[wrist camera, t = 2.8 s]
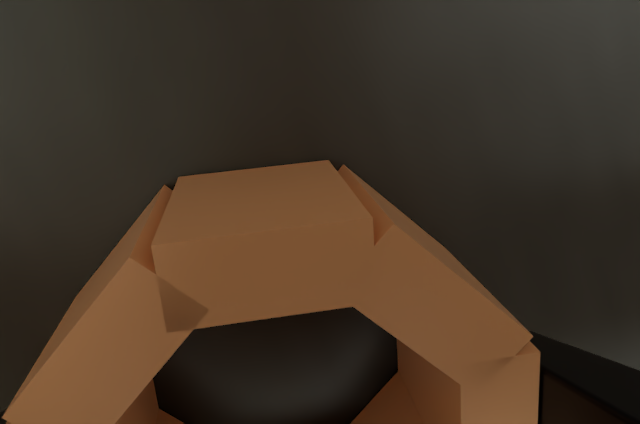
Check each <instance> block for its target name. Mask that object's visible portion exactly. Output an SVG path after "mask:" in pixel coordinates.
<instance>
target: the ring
mask: <svg viewBox="0 0 640 424" xmlns="http://www.w3.org/2000/svg"><path fill="white" fill-rule="evenodd" d="M347 307H354V308H355V309H357V310H358V311H360V312H361V313H362V314H364V315H365V316H366V317H368V318H369V319H371V320H372V321H373V322H375V323H376V324H377V325H379V326H380V327H382V328H383V329H384V330H386V331H387V332H388V333H390V334H391V335H393V336H394V337H395V338H397V356H398V372H397V373H396V374H395V375H394V376H393V377H392V378H391V380H390V381H389V382H388V383H387V384H386V385H385V386H384V387H383V388H382V389H381V390H380V392H379V393H378V394H377V395H376V396H375V397H374V398H373V399H372V400H371V401H370V402H369V404H368V405H367V406H366V407H365V408H364V409H363V410H362V411H361V412H360V413H359V414H358V416H357V417H356V418H355V419H354V420H353V421H352V422H351V423H350V424H538V401H539V376H540V351H539V350H538V349H537V348H536V347H535V346H534V345H533V344H532V343H531V342H530V340H531V338H532V337H533V335H532V334H531V333H530V332H529V331H528V330H527V329H526V328H525V327H524V326H523V325H522V324H521V323H520V322H519V321H518V320H517V319H516V318H515V317H514V316H513V315H512V314H511V313H510V312H509V311H508V310H507V309H506V308H505V307H504V306H503V305H502V304H501V303H500V302H499V301H498V300H497V299H496V298H495V297H494V296H493V295H492V294H491V293H490V292H489V291H488V290H487V289H486V288H485V287H484V286H483V285H482V284H481V283H480V282H479V281H478V280H477V279H476V278H475V277H474V276H473V275H472V274H471V273H470V272H469V271H468V270H467V269H466V268H465V267H464V266H463V265H462V264H461V263H460V262H459V261H458V260H457V259H456V258H455V257H454V256H453V255H452V254H451V253H450V252H449V251H448V250H447V249H446V248H445V247H444V246H442V245H441V244H440V243H439V242H438V241H436V240H435V239H434V238H433V237H431V236H430V235H429V234H428V233H427V232H425V231H424V230H423V229H422V228H420V227H419V226H418V225H417V224H416V223H414V222H413V221H412V220H411V219H410V218H408V217H407V216H406V215H405V214H403V213H402V212H401V211H400V210H399V209H397V208H396V207H395V206H394V205H392V204H391V203H390V202H389V201H388V200H386V199H385V198H384V197H383V196H382V195H380V194H379V193H378V192H377V191H375V190H374V189H373V188H372V187H371V186H369V185H368V184H367V183H366V182H364V181H363V180H362V179H361V178H360V177H358V176H357V175H356V174H355V173H353V172H352V171H351V170H350V169H349V168H347V167H346V166H345V165H344V164H343V165H342V166H341V168H340V169H339V170H338V171H337V170H336V169H335V168H334V166H333V165H332V164H331V162H330V161H329V160H323V161H314V162H305V163H296V164H287V165H279V166H270V167H261V168H252V169H243V170H234V171H225V172H216V173H207V174H198V175H190V176H181V177H178V179H177V182H176V184H175V187H174V189H173V190H171V189H170V188H168V187H167V186H166V185H164V186H163V187H162V188H161V189H160V191H159V192H158V193H157V194H156V196H155V197H154V198H153V199H152V201H151V202H150V203H149V205H148V206H147V207H146V208H145V210H144V211H143V212H142V213H141V215H140V216H139V217H138V218H137V220H136V221H135V222H134V224H133V225H132V226H131V227H130V229H129V230H128V231H127V232H126V234H125V235H124V236H123V237H122V239H121V240H120V241H119V243H118V244H117V245H116V246H115V248H114V249H113V250H112V251H111V253H110V254H109V255H108V256H107V258H106V259H105V260H104V262H103V263H102V264H101V265H100V267H99V268H98V269H97V270H96V272H95V273H94V274H93V276H92V277H91V278H90V279H89V281H88V282H87V283H86V284H85V286H84V287H83V288H82V289H81V291H80V292H79V293H78V295H77V296H76V297H75V299H74V300H73V302H72V304H71V305H70V307H69V309H68V310H67V312H66V313H65V315H64V317H63V318H62V320H61V322H60V323H59V325H58V327H57V328H56V330H55V331H54V333H53V335H52V336H51V338H50V340H49V341H48V343H47V344H46V346H45V348H44V349H43V351H42V353H41V354H40V356H39V358H38V359H37V361H36V362H35V364H34V366H33V367H32V369H31V371H30V372H29V374H28V375H27V377H26V379H25V380H24V382H23V384H22V385H21V387H20V389H19V390H18V392H17V393H16V395H15V397H14V398H13V400H12V402H11V403H10V405H9V406H8V408H7V410H6V411H5V413H4V415H3V416H2V418H3V419H4V420H6V421H7V422H6V424H185V423H183V422H181V421H179V420H178V419H176V418H174V417H173V416H171V415H169V414H167V413H166V412H164V411H162V410H160V409H159V407H158V402H157V397H156V392H155V387H154V382H153V377H154V376H155V375H156V374H157V373H158V371H159V370H160V369H161V368H162V367H163V365H164V364H165V363H166V362H167V361H168V359H169V358H170V357H171V356H172V355H173V353H174V352H175V351H176V350H177V349H178V347H179V346H180V345H181V344H182V343H183V341H184V340H185V339H186V338H187V337H188V335H189V334H190V333H191V332H192V331H193V329H199V328H206V327H213V326H220V325H227V324H234V323H241V322H248V321H255V320H262V319H269V318H276V317H283V316H290V315H297V314H304V313H311V312H318V311H326V310H333V309H340V308H347Z"/></svg>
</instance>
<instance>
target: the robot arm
mask: <svg viewBox="0 0 640 424" xmlns="http://www.w3.org/2000/svg"><path fill="white" fill-rule="evenodd" d="M528 331H529V330H528ZM529 332H530V333H531V334H532V335H533V337H532V338H531V340H530V342H531V343H532V344H533V345H534V346H535V347H536V348H537V349H538V350H539V351H540V376H539V401H538V424H640V371H639V370H637V369H634V368H631V367H628V366H626V365H623V364H620V363H617V362H614V361H612V360H609V359H606V358H603V357H601V356H598V355H595V354H592V353H590V352H587V351H584V350H581V349H579V348H576V347H573V346H570V345H568V344H565V343H562V342H559V341H557V340H554V339H551V338H548V337H545V336H543V335H540V334H537V333H534V332H532V331H529ZM6 410H7V409H5V410H4V411H2V412H1V413H0V424H6V422H7V421H6V420H4V419H3V418H2V416H3V415H4V413H5V411H6Z"/></svg>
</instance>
